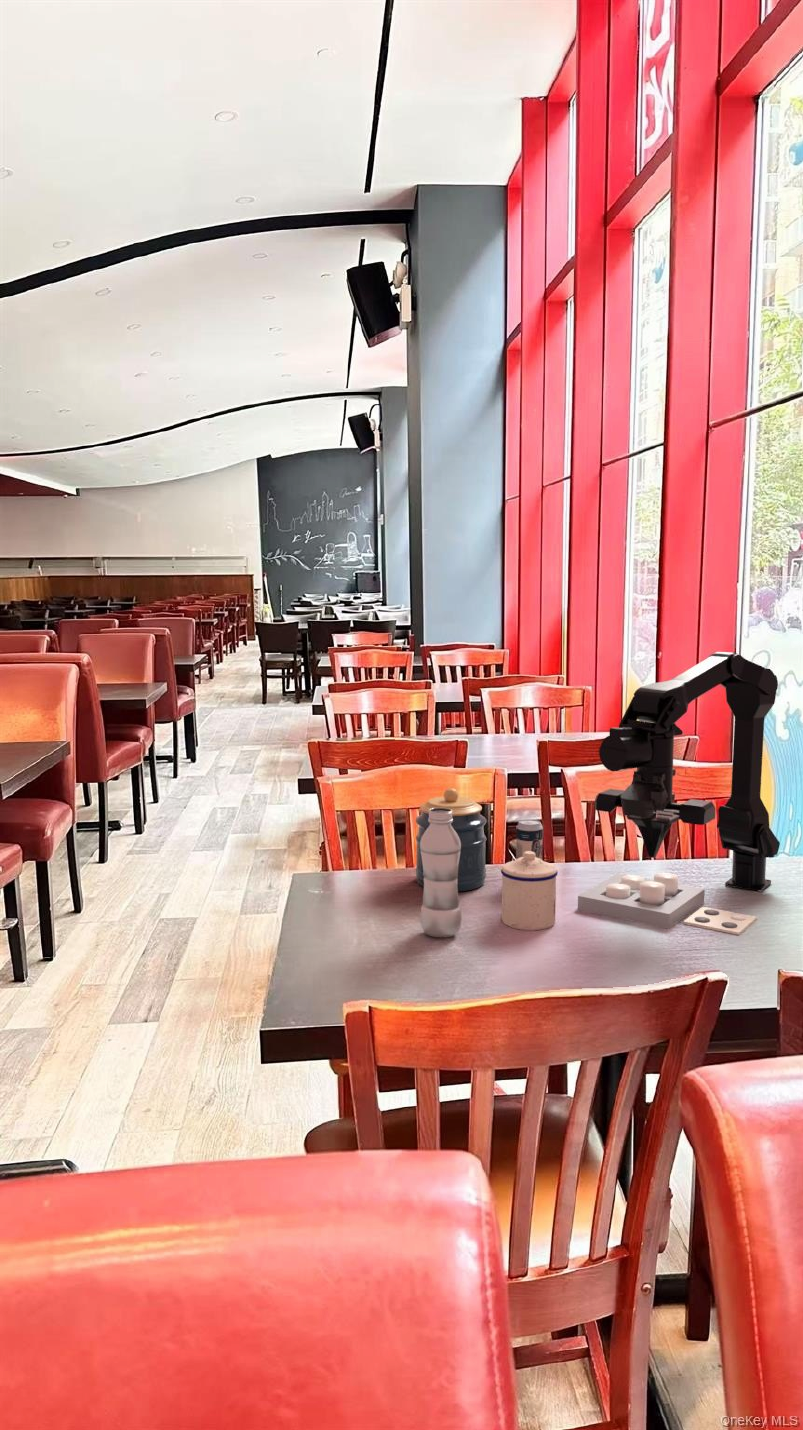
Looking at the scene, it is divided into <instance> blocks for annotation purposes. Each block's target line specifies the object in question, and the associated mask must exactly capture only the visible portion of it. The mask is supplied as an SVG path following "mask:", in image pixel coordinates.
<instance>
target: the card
mask: <svg viewBox="0 0 803 1430" xmlns="http://www.w3.org/2000/svg"><path fill="white" fill-rule="evenodd" d="M757 920H758V917H757V916H753V915H748V914H744V913H743V914H742V913H737V912H731V911H727V910H723V909H718V908H712V907H706V906H702V907H700V908H698V910H696V911H695V912H694V913H691V915H689V916H688V917H687V918H686V919H684V920H683V922H682V923H683V925H688V926H693V927H698V928H702V929H703V928H704V929H707V930H713V931H717V932H722V933H728V934H733V935H738V936H740V935H741V934H742V933H743V932H744V931H746V929H748V928H750V926H751V925H752V924H753V923H755V922H756V921H757Z"/></svg>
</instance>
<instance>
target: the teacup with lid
mask: <svg viewBox="0 0 803 1430" xmlns="http://www.w3.org/2000/svg"><path fill="white" fill-rule="evenodd" d="M500 873H501V875H502V877H501V878H502V881H501V882H502V884H501V886H502V887H501V888H502V893H501V901H502V902H501V920H502V922H503V924H504V925H506V926H508V927H510V928H513V929H515V930H522V931H540V930H541V931H542V930H544V929H545V930H547V929H549V928H551V927H552V926H553V925H554V924H555V923H556V910H557V909H556V906H557V905H556V904H557V903H556V899H557V898H556V895H557V876H558V874H559V873H558V870H557V867H556V866H555V865H554V864H552V863H550V862H546V861H544V860H543V859H542V860H541V859H539V858H536V854H535V853H534V852H532V851H526V852H524V853H523V857H521V858H518V859H516V858H515V860H511V861H508V862H506V863H504V864H503V865H502V867H501V869H500Z"/></svg>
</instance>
